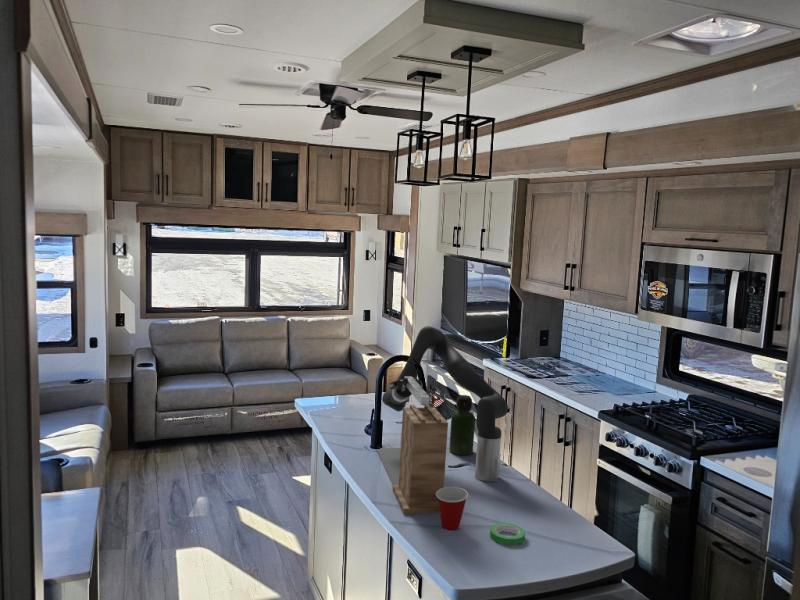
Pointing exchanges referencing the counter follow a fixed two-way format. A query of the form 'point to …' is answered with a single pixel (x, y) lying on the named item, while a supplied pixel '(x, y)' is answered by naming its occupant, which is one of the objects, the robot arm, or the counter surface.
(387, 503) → the counter surface
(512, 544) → the tape roll
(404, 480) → the brown tall ridged block
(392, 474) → the rubber mat
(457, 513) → the plastic cup
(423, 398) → the steel bar
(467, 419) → the green bottle
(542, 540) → the counter surface
